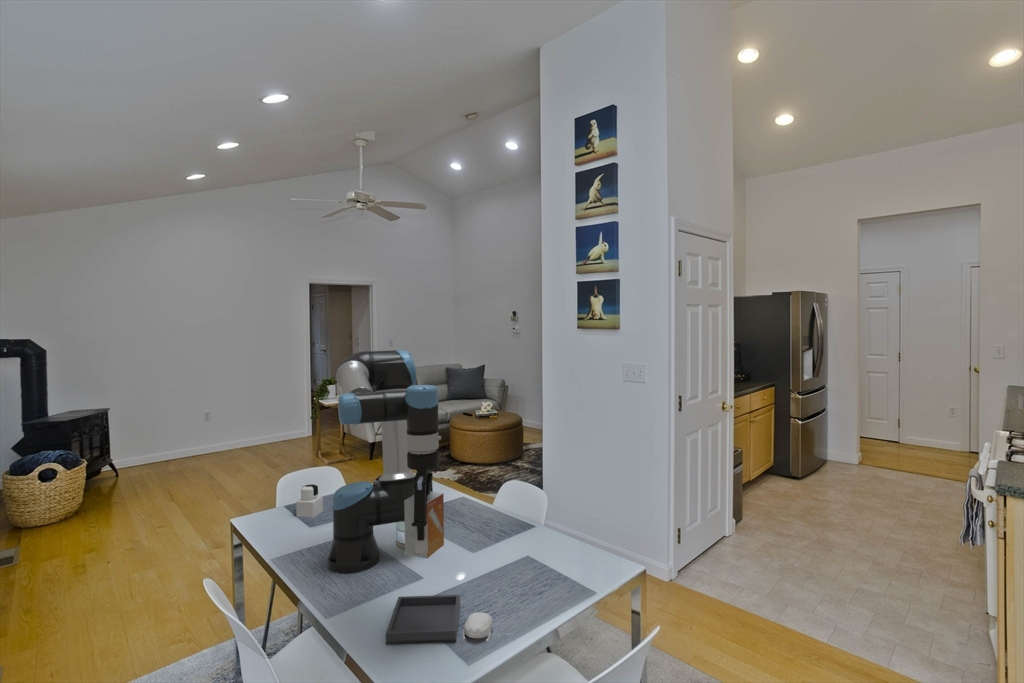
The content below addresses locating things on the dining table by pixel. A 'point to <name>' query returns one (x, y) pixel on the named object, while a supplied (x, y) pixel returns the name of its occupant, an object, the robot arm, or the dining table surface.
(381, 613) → the dining table surface
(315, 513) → the medicine bottle
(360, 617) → the dining table surface
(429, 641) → the holder
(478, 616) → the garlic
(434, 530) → the small box
